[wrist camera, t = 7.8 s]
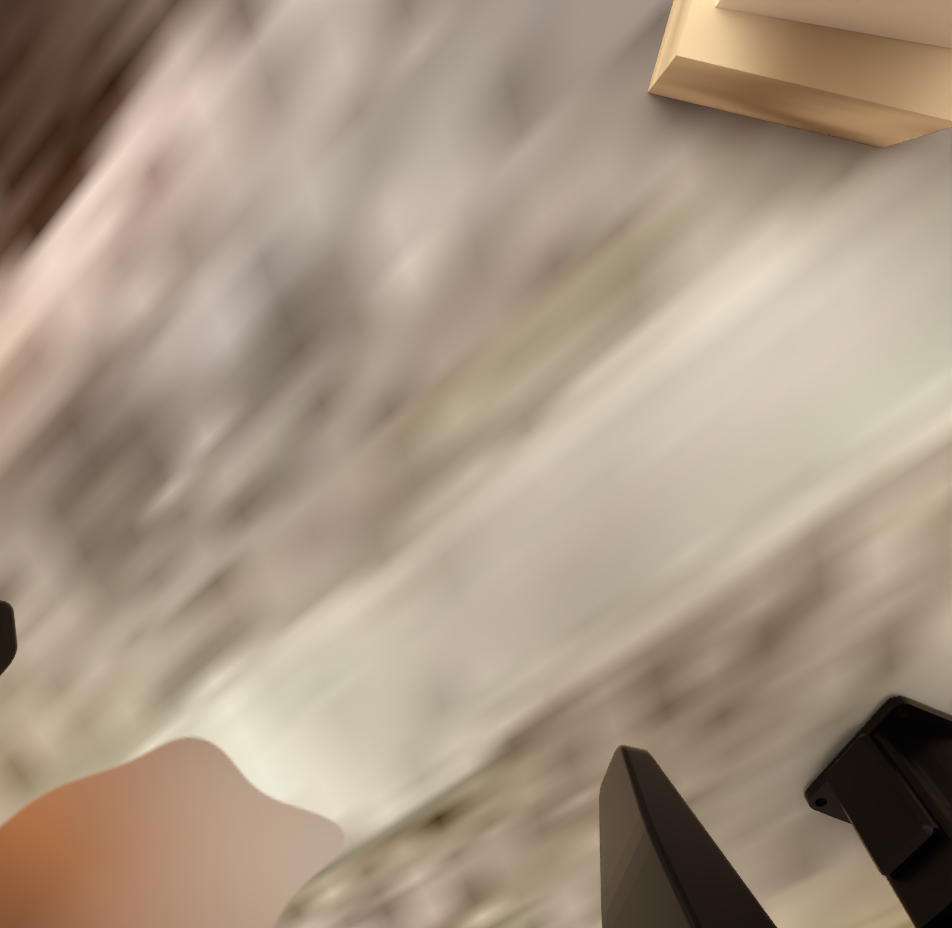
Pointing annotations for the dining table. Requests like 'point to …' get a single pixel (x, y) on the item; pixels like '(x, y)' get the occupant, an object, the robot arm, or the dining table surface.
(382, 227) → the dining table surface
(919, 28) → the tower mid
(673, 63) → the tower base
